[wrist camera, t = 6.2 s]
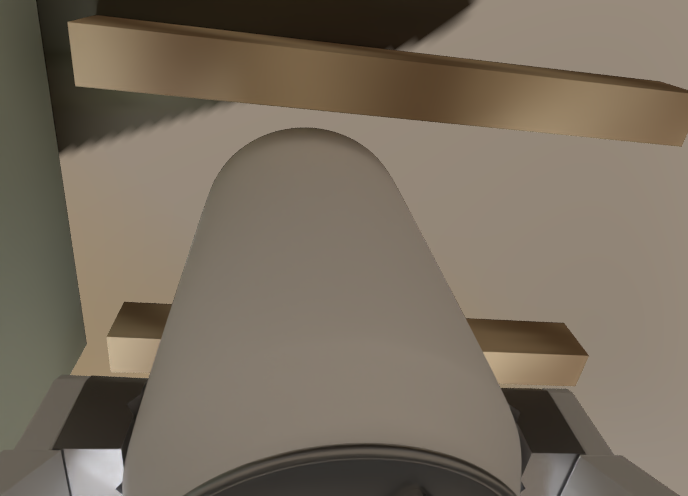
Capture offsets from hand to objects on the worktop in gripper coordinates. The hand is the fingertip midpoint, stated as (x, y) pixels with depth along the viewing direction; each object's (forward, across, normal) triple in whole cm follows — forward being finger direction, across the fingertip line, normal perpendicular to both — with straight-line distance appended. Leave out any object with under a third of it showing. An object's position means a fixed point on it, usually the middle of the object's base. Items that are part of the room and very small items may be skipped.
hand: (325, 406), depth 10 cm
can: (+9, 0, 0) cm, 9 cm away
